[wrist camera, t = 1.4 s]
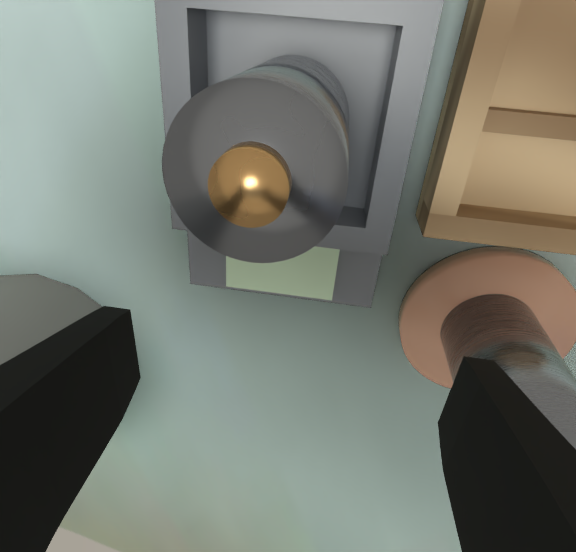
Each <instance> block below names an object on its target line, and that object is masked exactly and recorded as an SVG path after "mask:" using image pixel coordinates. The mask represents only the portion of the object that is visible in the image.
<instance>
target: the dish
mask: <svg viewBox="0 0 576 552" xmlns="http://www.w3.org/2000/svg"><path fill="white" fill-rule="evenodd" d="M486 294H504V295H509V296H512V297H515V298H517V299H519V300H521V301H523V302H524V303H525V304H527V305H528V306H529V307H530V308H531V310H532V311H533V313H534V314H535V316H536V317H537V319H538V321H539V322H540V324H541V325H542V327H543V329H544V330H545V332H546V333H547V335H548V336H549V338H550V340H551V341H552V343H553V344H554V346H555V348H556V349H557V351H558V352H559V354H560V355H561V357H562V359H563V358H564V357H565V356H566V355H567V354H568V353H569V351H570V350H571V348H572V347H573V345H574V344H575V342H576V291H575V289H574V288H573V287H572V285H571V284H570V283H569V281H568V280H567V279H566V278H565V277H564V276H563V274H562V273H561V272H560V271H559V270H558V269H557V268H556V267H555V266H554V265H553V264H552V263H550V262H549V261H547V260H546V259H544V258H543V257H541V256H539V255H536V254H534V253H532V252H529V251H525V250H522V249H517V248H512V247H499V246H495V247H482V248H475V249H471V250H467V251H463V252H460V253H457V254H454V255H452V256H449V257H447V258H445V259H443V260H441V261H439V262H438V263H436V264H435V265H433V266H432V267H430V268H429V269H427V270H426V271H425V272H424V273H423V274H422V275H420V276H419V277H418V279H417V280H416V281H415V282H414V283H413V284H412V286H411V287H410V288H409V290H408V291H407V293H406V295H405V297H404V299H403V301H402V304H401V307H400V312H399V330H400V337H401V343H402V347H403V350H404V353H405V355H406V357H407V358H408V360H409V362H410V363H411V364H412V366H413V367H414V368H415V369H416V370H417V371H418V372H419V373H421V374H422V375H423V376H425V377H426V378H427V379H429V380H431V381H433V382H435V383H437V384H439V385H442V386H444V387H448V388H452V385H453V380H452V376H451V373H450V369H449V366H448V362H447V359H446V355H445V352H444V348H443V345H442V341H441V336H440V332H441V326H442V324H443V321H444V319H445V318H446V316H447V315H448V314H449V312H450V311H451V310H453V309H454V308H455V307H456V306H457V305H459V304H460V303H462V302H464V301H466V300H468V299H470V298H473V297H476V296H480V295H486Z"/></svg>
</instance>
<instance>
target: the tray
mask: <svg viewBox="0 0 576 552" xmlns="http://www.w3.org/2000/svg"><path fill="white" fill-rule="evenodd" d="M416 217H417V220H418V223H419V226H420V229H421V232H422V235H423V237H429V238H438V239H446V240H454V241H463V242H471V243H479V244H488V245H496V246H504V247H513V248H521V249H529V250H538V251H546V252H554V253H563V254H571V255H576V0H469V2H468V6H467V10H466V14H465V18H464V22H463V26H462V30H461V34H460V38H459V42H458V46H457V50H456V54H455V58H454V62H453V66H452V70H451V74H450V78H449V82H448V86H447V90H446V95H445V99H444V103H443V107H442V111H441V115H440V119H439V123H438V127H437V131H436V135H435V139H434V143H433V147H432V151H431V155H430V159H429V163H428V167H427V171H426V175H425V179H424V183H423V187H422V191H421V195H420V199H419V203H418V207H417V211H416Z"/></svg>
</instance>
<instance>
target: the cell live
mask: <svg viewBox="0 0 576 552" xmlns="http://www.w3.org/2000/svg"><path fill="white" fill-rule="evenodd" d="M348 162H349V106H348V101H347V97H346V94H345V91H344V89H343V87H342V85H341V83H340V82H339V80H338V79H337V77H336V76H335V75H334V74H333V73H332V72H331V71H330V70H329V69H328V68H327V67H326V66H324V65H323V64H321V63H320V62H318V61H316V60H314V59H312V58H309V57H306V56H300V55H284V56H279V57H276V58H273V59H271V60H268V61H266V62H264V63H261V64H259V65H257V66H255V67H252V68H250V69H248V70H245V71H243V72H241V73H238V74H236V75H234V76H232V77H229V78H227V79H225V80H222V81H220V82H218V83H216V84H213V85H211V86H209V87H207V88H205V89H203V90H202V91H200V92H199V93H197V94H196V95H194V96H193V97H192V98H191V99H190V100H189V101H188V102H186V103H185V105H184V106H183V107H182V108H181V109H180V111H179V112H178V113H177V115H176V116H175V118H174V120H173V121H172V123H171V125H170V128H169V130H168V133H167V135H166V139H165V143H164V147H163V156H162V171H163V178H164V184H165V187H166V191H167V194H168V197H169V199H170V201H171V204H172V206H173V208H174V210H175V211H176V213H177V215H178V216H179V218H180V219H181V221H182V222H183V223H184V225H185V226H186V227H187V228H188V229H189V230H190V231H191V233H192V234H194V235H195V236H196V237H197V238H198V239H199V240H200V241H202V242H203V243H204V244H206V245H207V246H208V247H210V248H212V249H213V250H215V251H217V252H219V253H221V254H223V255H226V256H228V257H230V258H234V259H237V260H240V261H246V262H252V263H274V262H279V261H284V260H288V259H291V258H294V257H296V256H299V255H301V254H303V253H305V252H307V251H308V250H310V249H312V248H313V247H314V246H316V245H317V244H318V243H319V242H321V241H322V240H323V239H324V237H325V236H326V235H327V234H328V233H329V232H330V231H331V229H332V228H333V226H334V225H335V224H336V222H337V220H338V218H339V216H340V214H341V212H342V209H343V206H344V204H345V199H346V195H347V188H348Z"/></svg>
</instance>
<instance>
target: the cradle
mask: <svg viewBox="0 0 576 552" xmlns="http://www.w3.org/2000/svg"><path fill="white" fill-rule="evenodd" d="M443 3H444V0H155V13H156V26H157V39H158V51H159V64H160V77H161V90H162V102H163V115H164V128H165V139H166V135H167V133H168V130H169V128H170V125H171V123H172V121H173V120H174V118H175V116H176V115H177V113H178V112H179V111H180V109H181V108H182V107H183V106H184V105H185V103H186V102H188V101H189V100H190V99H191V98H192V97H193V96H194V95H196V94H197V93H199V92H200V91H202V90H203V89H205V88H207V87H209V86H211V85H213V84H216V83H218V82H220V81H222V80H225V79H227V78H229V77H232V76H234V75H236V74H238V73H241V72H243V71H245V70H248V69H250V68H252V67H255V66H257V65H259V64H261V63H264V62H266V61H268V60H271V59H273V58H276V57H279V56H284V55H300V56H306V57H309V58H312V59H314V60H316V61H318V62H320V63H321V64H323V65H324V66H326V67H327V68H328V69H329V70H330V71H331V72H332V73H333V74H334V75H335V76H336V77H337V79H338V80H339V82H340V83H341V85H342V87H343V89H344V91H345V94H346V97H347V101H348V106H349V162H348V188H347V195H346V199H345V204H344V206H343V209H342V212H341V214H340V216H339V218H338V220H337V222H336V224H335V225H334V226H333V228H332V229H331V231H330V232H329V233H328V234H327V235H326V236H325V237H324V239H323V240H322V241H321V242H319V243H318V244H317V245H316V246H314V247H313V248H312V249H310V250H308V251H307V252H305V253H303V254H301V255H299V256H296V257H294V258H291V259H288V260H284V261H279V262H274V263H252V262H246V261H240V260H237V259H234V258H230V257H228V256H226V255H223V254H221V253H219V252H217V251H215V250H213V249H212V248H210V247H208V246H207V245H206V244H204V243H203V242H202V241H200V240H199V239H198V238H197V237H196V236H195V235H194V234H192V233H191V231H190V230H189V229H188V228H187V227H186V226H185V225H184V223H183V222H182V221H181V219H180V218H179V216H178V215H177V213H176V211H175V210H174V208H173V206H172V204H171V201H170V205H171V218H172V229H179V230H187V233H188V250H189V267H190V284H196V285H203V286H211V287H218V288H226V289H233V290H241V291H248V292H256V293H263V294H271V295H278V296H286V297H293V298H301V299H308V300H316V301H323V302H331V303H338V304H346V305H353V306H361V307H368V308H371V305H372V300H373V296H374V291H375V286H376V282H377V277H378V272H379V268H380V263H381V259H382V255H388V250H389V246H390V241H391V237H392V232H393V228H394V223H395V219H396V214H397V210H398V205H399V201H400V196H401V192H402V187H403V183H404V178H405V174H406V169H407V165H408V160H409V156H410V152H411V147H412V143H413V138H414V134H415V129H416V125H417V120H418V116H419V111H420V107H421V102H422V98H423V93H424V89H425V84H426V80H427V75H428V71H429V66H430V62H431V57H432V53H433V48H434V44H435V39H436V35H437V30H438V26H439V21H440V17H441V12H442V8H443Z"/></svg>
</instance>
